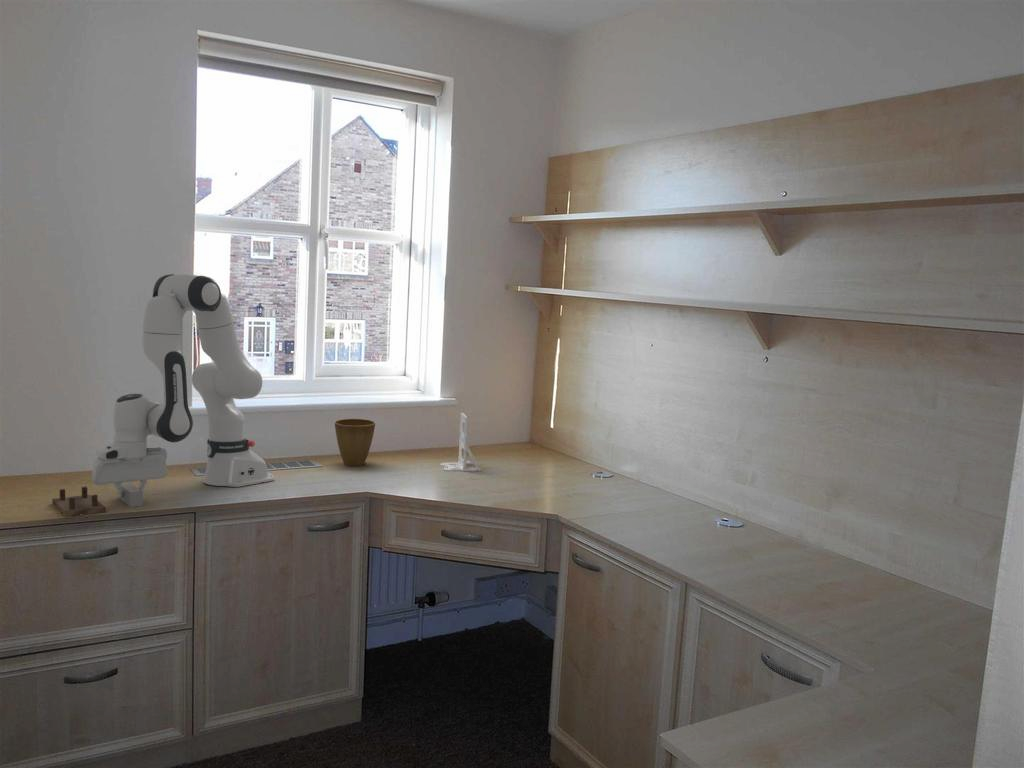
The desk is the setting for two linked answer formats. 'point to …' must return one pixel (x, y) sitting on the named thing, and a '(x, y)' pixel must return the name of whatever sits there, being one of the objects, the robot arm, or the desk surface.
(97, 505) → the footed brown board
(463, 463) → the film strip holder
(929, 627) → the desk surface
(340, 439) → the plant pot
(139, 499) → the grey rectangular block
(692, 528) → the desk surface
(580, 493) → the desk surface
